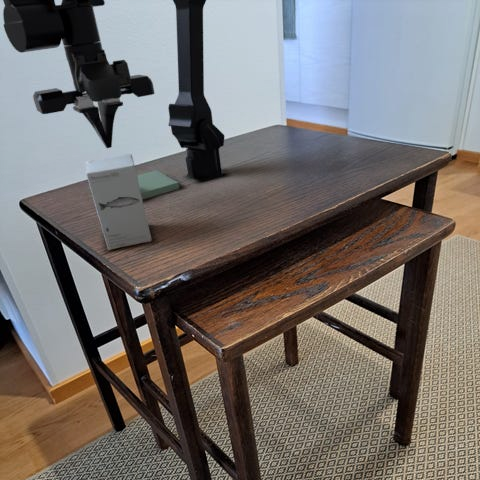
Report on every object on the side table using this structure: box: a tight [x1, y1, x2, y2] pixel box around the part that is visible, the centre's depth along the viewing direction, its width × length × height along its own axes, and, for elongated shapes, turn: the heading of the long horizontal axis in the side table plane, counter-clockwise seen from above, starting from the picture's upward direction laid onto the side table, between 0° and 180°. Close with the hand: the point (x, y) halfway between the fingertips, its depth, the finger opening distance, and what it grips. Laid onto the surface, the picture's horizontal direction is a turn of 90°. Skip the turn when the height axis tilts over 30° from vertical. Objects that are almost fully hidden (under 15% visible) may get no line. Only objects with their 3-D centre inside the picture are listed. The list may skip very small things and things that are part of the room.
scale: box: [137, 170, 180, 200], centre depth 94 cm, size 14×13×3 cm
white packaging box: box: [85, 153, 153, 251], centre depth 72 cm, size 7×7×13 cm
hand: (108, 147), depth 79 cm, fingers closed
